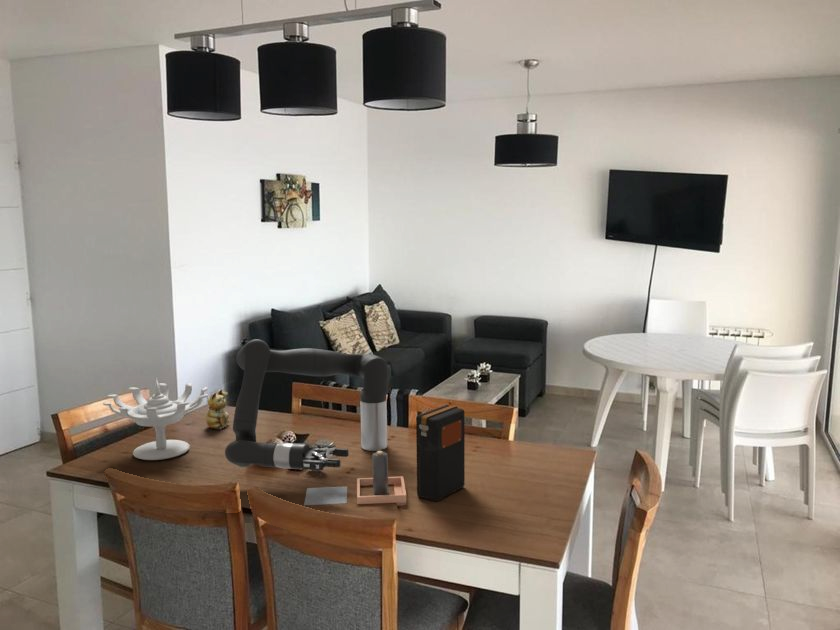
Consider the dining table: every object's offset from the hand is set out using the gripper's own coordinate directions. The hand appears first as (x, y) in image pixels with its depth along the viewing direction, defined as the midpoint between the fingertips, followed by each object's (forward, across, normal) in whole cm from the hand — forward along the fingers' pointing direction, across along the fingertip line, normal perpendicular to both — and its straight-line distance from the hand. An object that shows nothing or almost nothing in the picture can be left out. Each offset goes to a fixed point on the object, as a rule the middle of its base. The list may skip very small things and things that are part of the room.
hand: (344, 458), depth 202 cm
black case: (+28, +5, +11) cm, 31 cm away
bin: (+11, -1, +11) cm, 16 cm away
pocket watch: (-14, +11, +11) cm, 21 cm away
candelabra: (-74, +24, +11) cm, 78 cm away
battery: (+11, -1, +10) cm, 15 cm away
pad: (-4, -5, +11) cm, 13 cm away
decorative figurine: (-68, +54, +11) cm, 87 cm away
